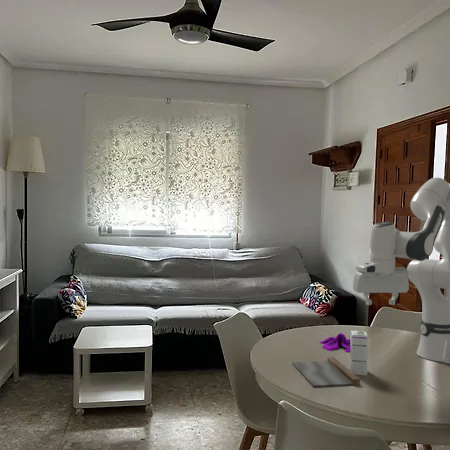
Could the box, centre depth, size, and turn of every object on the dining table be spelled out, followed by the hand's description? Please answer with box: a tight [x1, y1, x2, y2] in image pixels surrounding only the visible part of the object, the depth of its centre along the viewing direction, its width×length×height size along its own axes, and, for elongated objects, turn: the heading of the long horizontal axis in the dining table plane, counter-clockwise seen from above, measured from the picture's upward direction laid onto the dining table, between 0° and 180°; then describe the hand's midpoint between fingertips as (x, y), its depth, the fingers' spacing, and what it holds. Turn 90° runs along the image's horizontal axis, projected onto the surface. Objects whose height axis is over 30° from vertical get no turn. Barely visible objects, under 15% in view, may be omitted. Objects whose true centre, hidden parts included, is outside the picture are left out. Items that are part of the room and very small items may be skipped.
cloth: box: [318, 332, 351, 353], centre depth 196 cm, size 22×19×6 cm
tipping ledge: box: [292, 356, 361, 388], centre depth 162 cm, size 16×22×2 cm
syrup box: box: [349, 330, 369, 376], centre depth 164 cm, size 6×6×14 cm
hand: (380, 304), depth 165 cm, fingers open, 8 cm apart
